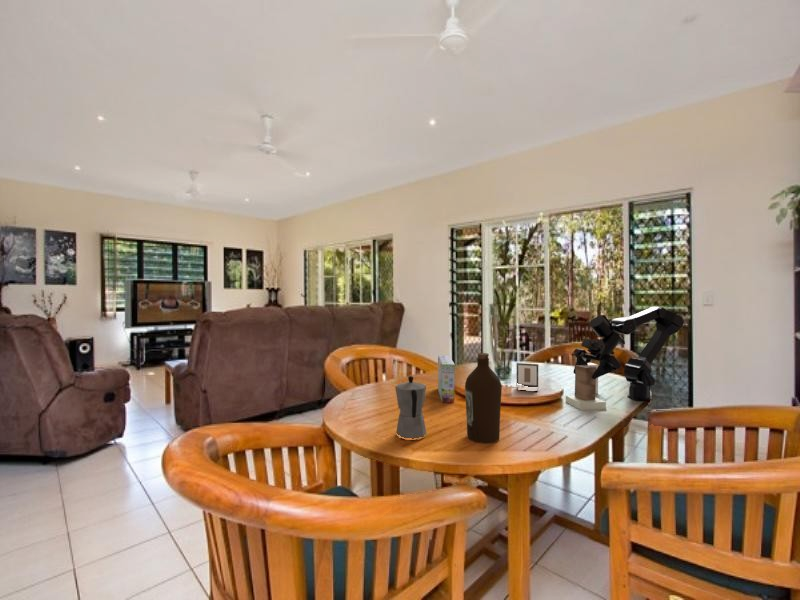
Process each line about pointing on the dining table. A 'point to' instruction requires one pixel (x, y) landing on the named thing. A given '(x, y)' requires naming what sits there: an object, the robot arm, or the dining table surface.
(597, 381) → the grey block
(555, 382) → the dining table surface
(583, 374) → the walnut block
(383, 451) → the dining table surface
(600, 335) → the robot arm
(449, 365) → the snack box
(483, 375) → the olive oil
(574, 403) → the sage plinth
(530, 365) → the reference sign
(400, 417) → the coffeepot
